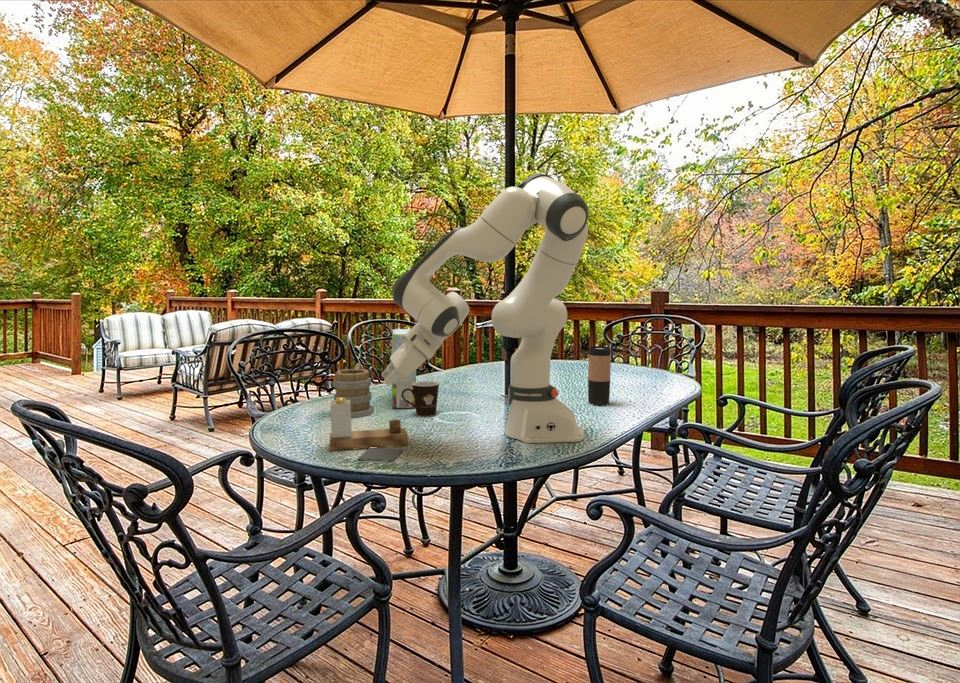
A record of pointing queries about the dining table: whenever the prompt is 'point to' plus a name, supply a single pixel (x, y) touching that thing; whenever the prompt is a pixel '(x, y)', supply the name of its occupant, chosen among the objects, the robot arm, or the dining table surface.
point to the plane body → (372, 438)
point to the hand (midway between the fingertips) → (384, 380)
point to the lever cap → (341, 418)
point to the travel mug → (599, 375)
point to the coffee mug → (424, 397)
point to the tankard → (355, 390)
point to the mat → (381, 454)
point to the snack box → (402, 381)
